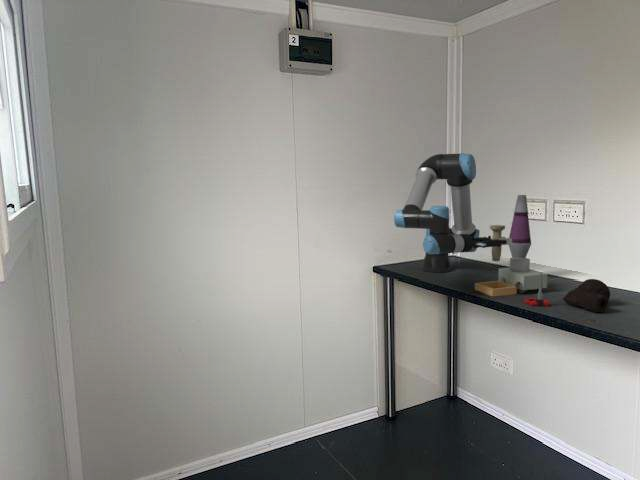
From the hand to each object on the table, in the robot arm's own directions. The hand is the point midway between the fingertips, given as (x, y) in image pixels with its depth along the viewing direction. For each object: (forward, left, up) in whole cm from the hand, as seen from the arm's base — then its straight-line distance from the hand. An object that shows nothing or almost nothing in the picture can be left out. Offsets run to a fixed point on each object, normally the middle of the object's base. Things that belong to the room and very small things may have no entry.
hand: (507, 240), depth 197 cm
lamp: (-21, +13, -22) cm, 33 cm away
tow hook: (+19, +6, -22) cm, 30 cm away
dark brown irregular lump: (+23, +24, -22) cm, 40 cm away
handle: (+2, -5, -9) cm, 10 cm away
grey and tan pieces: (0, +1, -22) cm, 22 cm away
